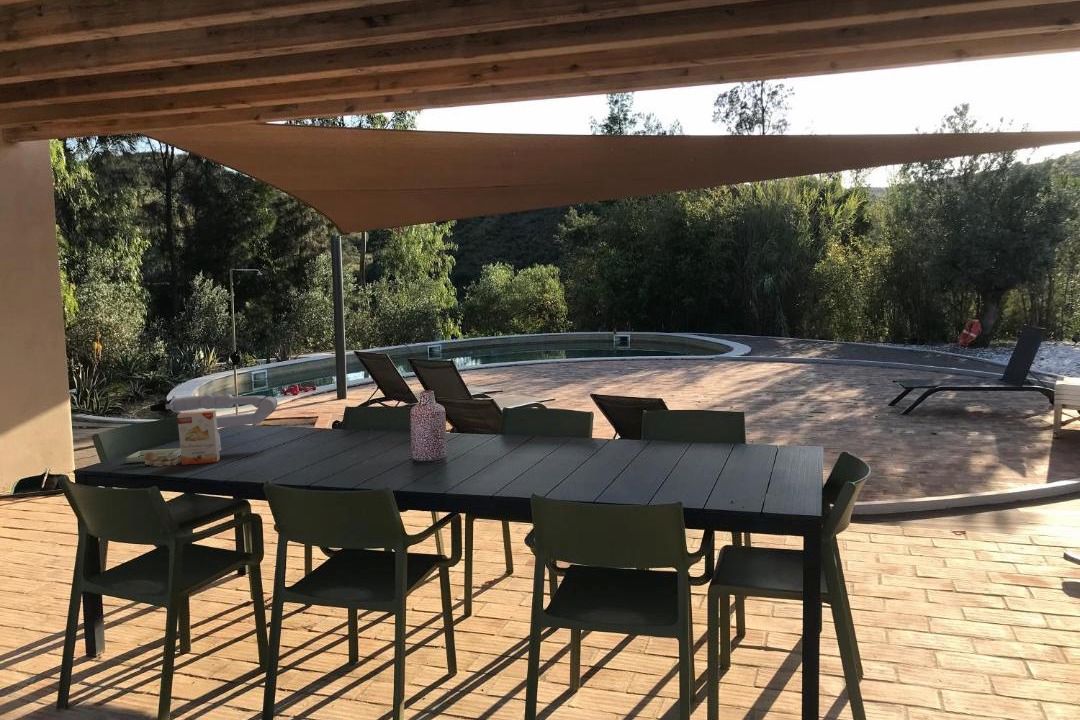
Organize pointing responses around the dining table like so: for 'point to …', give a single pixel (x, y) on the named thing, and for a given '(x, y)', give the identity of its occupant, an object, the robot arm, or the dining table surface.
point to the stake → (169, 456)
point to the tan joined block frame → (153, 459)
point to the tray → (160, 452)
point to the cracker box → (198, 437)
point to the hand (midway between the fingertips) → (153, 407)
